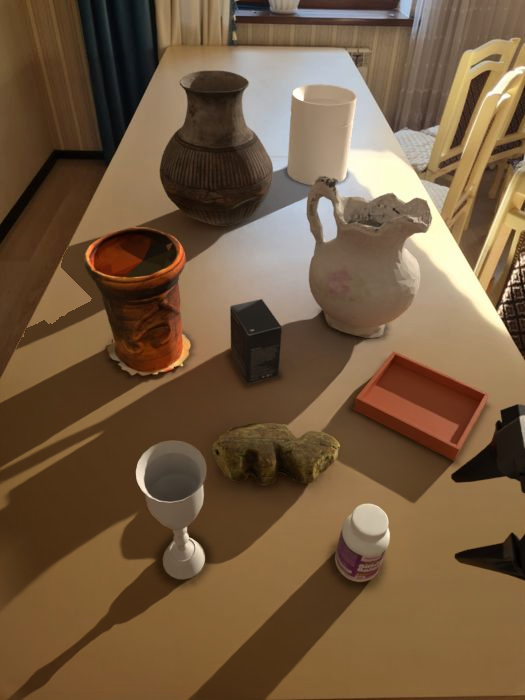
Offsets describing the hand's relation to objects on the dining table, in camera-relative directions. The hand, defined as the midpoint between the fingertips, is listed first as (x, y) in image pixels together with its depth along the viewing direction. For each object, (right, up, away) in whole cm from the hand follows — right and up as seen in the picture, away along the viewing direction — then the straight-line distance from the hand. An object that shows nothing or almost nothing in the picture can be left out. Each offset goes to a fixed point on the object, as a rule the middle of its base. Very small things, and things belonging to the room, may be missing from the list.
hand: (454, 516), depth 55 cm
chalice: (-29, -8, +10) cm, 32 cm away
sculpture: (-18, +1, +21) cm, 27 cm away
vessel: (-39, +16, +37) cm, 56 cm away
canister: (-5, +65, +91) cm, 112 cm away
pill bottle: (-8, -9, +10) cm, 16 cm away
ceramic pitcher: (-3, +24, +46) cm, 52 cm away
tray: (+5, +8, +29) cm, 30 cm away
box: (-21, +14, +35) cm, 43 cm away
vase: (-30, +48, +71) cm, 91 cm away
